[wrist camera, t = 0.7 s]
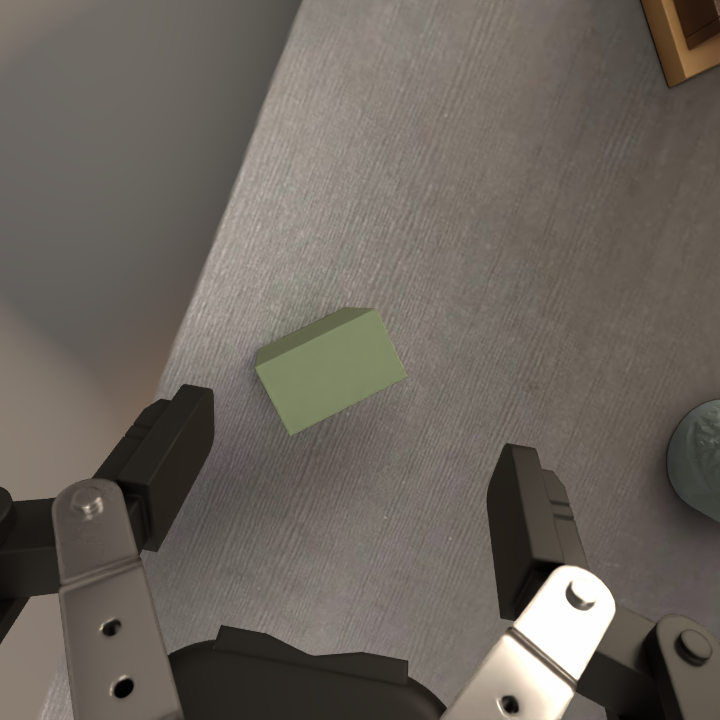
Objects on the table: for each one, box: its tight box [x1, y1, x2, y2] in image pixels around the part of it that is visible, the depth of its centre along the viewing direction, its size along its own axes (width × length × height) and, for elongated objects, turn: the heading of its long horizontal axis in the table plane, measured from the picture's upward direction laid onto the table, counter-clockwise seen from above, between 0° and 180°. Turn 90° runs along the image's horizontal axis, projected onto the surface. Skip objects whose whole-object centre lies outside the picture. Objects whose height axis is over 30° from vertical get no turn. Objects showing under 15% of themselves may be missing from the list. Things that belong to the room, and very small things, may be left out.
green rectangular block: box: [255, 307, 407, 436], centre depth 27 cm, size 6×4×9 cm, turn 115°
